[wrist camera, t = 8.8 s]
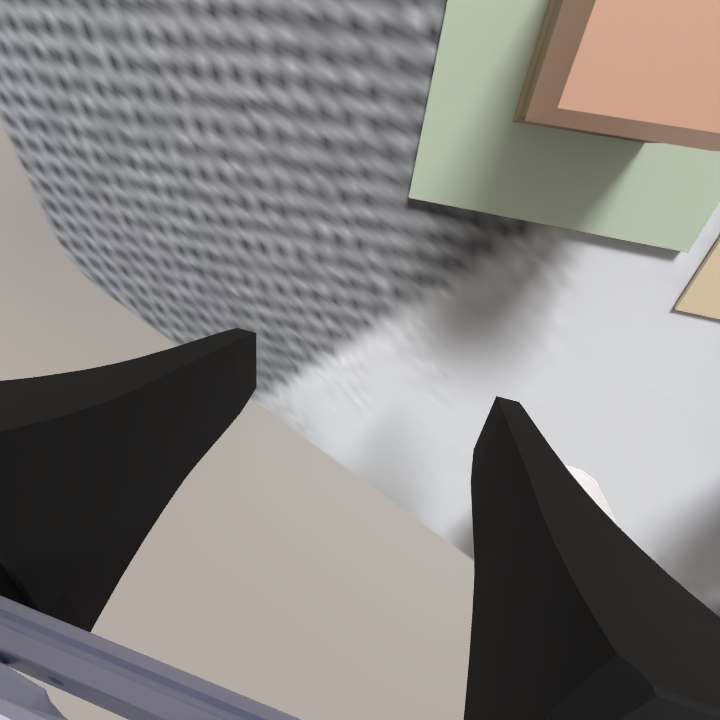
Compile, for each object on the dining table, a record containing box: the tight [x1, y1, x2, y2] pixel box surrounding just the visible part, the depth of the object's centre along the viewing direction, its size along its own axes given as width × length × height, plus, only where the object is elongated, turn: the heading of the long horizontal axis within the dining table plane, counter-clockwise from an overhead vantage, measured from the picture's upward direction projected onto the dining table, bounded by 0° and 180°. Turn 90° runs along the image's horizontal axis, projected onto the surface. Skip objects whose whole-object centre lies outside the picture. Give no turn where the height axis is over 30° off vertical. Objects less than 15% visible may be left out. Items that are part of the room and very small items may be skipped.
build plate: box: [409, 0, 720, 253], centre depth 14 cm, size 12×12×1 cm
